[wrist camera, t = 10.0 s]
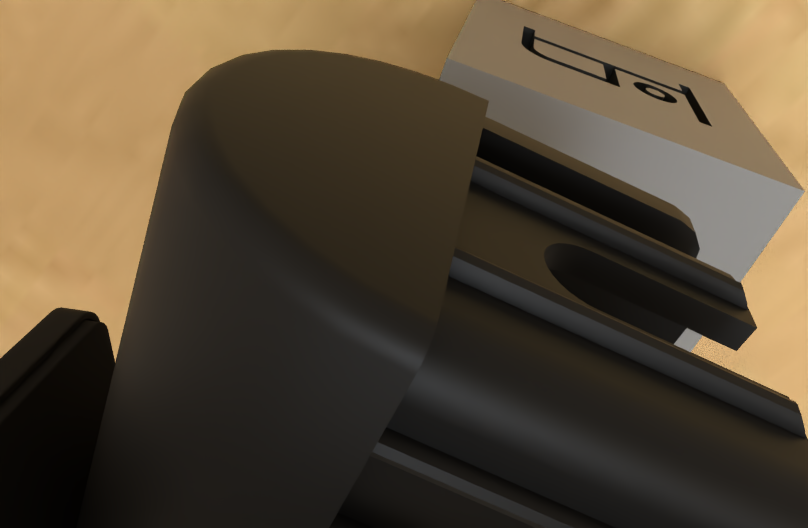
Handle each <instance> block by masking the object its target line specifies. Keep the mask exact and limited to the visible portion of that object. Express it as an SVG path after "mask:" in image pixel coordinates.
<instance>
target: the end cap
mask: <svg viewBox="0 0 808 528" xmlns="http://www.w3.org/2000/svg"><path fill="white" fill-rule="evenodd" d="M488 103H489V101H488V100H486V99H484V98H481V97H479V96H477V95H474V94H472V93H470V92H468V91H465V90H463V89H461V88H458V87H456V86H454V85H451V84H448V83H446V82H443V81H440V80H437V79H435V78H432V77H429V76H427V75H424V74H421V73H418V72H415V71H412V70H408V69H405V68H402V67H398V66H395V65H391V64H388V63H384V62H381V61H376V60H371V59H367V58H362V57H357V56H353V55H348V54H341V53H332V52H324V51H315V50H270V51H264V52H258V53H252V54H246V55H242V56H239V57H237V58H234V59H232V60H229V61H227V62H225V63H222V64H220V65H218V66H215V67H213V68H211V69H210V70H209V71H207V72H206V73H205V74H204V75H203V76H202V77H201V78H200V79H199V80H198V81H197V82H196V83H195V84H194V85H192V86H191V87H190V88H189V89H188V90H187V91H186V92H185V94H184V96H183V99H182V101H181V103H180V106H179V109H178V111H177V114H176V116H175V119H174V122H173V124H172V127H171V131H170V136H169V140H168V144H167V148H166V152H165V157H164V161H163V165H162V169H161V173H160V178H159V182H158V186H157V190H156V194H155V199H154V203H153V207H152V211H151V215H150V220H149V224H148V228H147V232H146V237H145V241H144V245H143V249H142V253H141V258H140V262H139V266H138V270H137V274H136V279H135V283H134V287H133V291H132V295H131V300H130V304H129V308H128V312H127V316H126V321H125V325H124V329H123V333H122V337H121V342H120V346H119V350H118V354H117V358H116V363H115V367H114V371H113V375H112V379H111V384H110V388H109V392H108V396H107V400H106V405H105V409H104V413H103V417H102V421H101V426H100V430H99V434H98V438H97V443H96V447H95V451H94V455H93V459H92V464H91V468H90V472H89V476H88V480H87V485H86V489H85V493H84V497H83V501H82V506H81V510H80V514H79V518H78V522H77V527H76V528H808V439H807V437H806V434H805V428H804V424H803V420H802V416H801V413H800V410H799V407H798V405H797V403H796V402H794V401H792V400H790V399H789V397H787V396H785V395H783V394H781V393H779V392H776V391H774V390H772V389H770V388H768V387H766V386H763V385H761V384H759V383H757V382H755V381H752V380H750V379H748V378H746V377H744V376H742V375H739V374H737V373H735V372H733V371H731V370H728V369H726V368H724V367H722V366H720V365H717V364H715V363H713V362H711V361H709V360H707V359H704V358H702V357H700V356H698V355H696V354H693V353H691V352H689V351H687V350H685V349H683V348H680V347H678V346H676V345H674V343H675V342H676V341H677V340H678V338H679V337H680V336H681V335H682V334H683V332H684V331H685V330H686V329H687V328H688V329H690V330H692V331H694V332H696V333H698V334H701V335H703V336H705V337H707V338H709V339H712V340H714V341H716V342H718V343H720V344H722V345H725V346H727V347H729V348H731V349H733V350H735V351H737V350H738V349H739V348H740V346H741V345H742V344H743V343H744V342H745V341H746V340H747V339H748V338H749V336H750V335H751V334H752V333H753V332H754V331H755V330H756V329H757V326H756V324H755V322H754V320H753V318H752V315H751V313H750V311H749V309H748V307H747V301H746V297H745V294H744V290H743V287H742V284H741V283H740V282H738V281H736V280H735V279H734V278H733V277H732V276H731V275H730V274H728V273H726V272H724V271H722V270H719V269H717V268H715V267H713V266H711V265H709V264H707V263H704V262H702V261H700V260H698V259H696V258H697V256H698V253H699V251H700V247H699V243H698V240H697V236H696V232H695V230H694V227H693V225H692V223H691V220H690V218H689V217H688V216H687V215H686V214H684V213H683V212H682V211H681V210H680V209H678V208H677V207H676V206H675V205H673V204H671V203H669V202H666V201H664V200H662V199H660V198H658V197H656V196H654V195H652V194H649V193H647V192H645V191H643V190H641V189H639V188H637V187H635V186H632V185H630V184H628V183H626V182H624V181H622V180H620V179H618V178H615V177H613V176H611V175H609V174H607V173H605V172H603V171H601V170H598V169H596V168H594V167H592V166H590V165H588V164H586V163H584V162H581V161H579V160H577V159H575V158H573V157H571V156H569V155H567V154H564V153H562V152H560V151H558V150H556V149H554V148H552V147H550V146H547V145H545V144H543V143H541V142H539V141H537V140H535V139H533V138H530V137H528V136H526V135H524V134H522V133H520V132H518V131H516V130H513V129H511V128H509V127H507V126H505V125H503V124H501V123H499V122H496V121H494V120H492V119H490V118H487V117H485V116H486V112H487V107H488Z"/></svg>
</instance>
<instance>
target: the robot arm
mask: <svg viewBox="0 0 808 528" xmlns="http://www.w3.org/2000/svg"><path fill="white" fill-rule="evenodd" d="M114 367H115V360H114V355H113V351H112V346H111V342H110V337H109V333H108V329H107V326H106V325H105V324H104V323H102V322H100V320H99V318H98V316H97V315H96V314H95V313H93V312H88V311H82V310H75V309H68V308H56V309H55V310H53V311H52V312H50V313H49V314H48V315H47V316H46V317H45V318H44V319H43V320H42V321H41V322H40V323H38V324H37V325H36V326H35V327H34V328H33V329H32V330H31V331H30V332H29V333H28V334H27V335H25V336H24V337H23V338H22V339H21V340H20V341H19V342H18V343H17V344H16V345H15V346H13V347H12V348H11V349H10V350H9V351H8V352H7V353H6V354H5V355H4V356H3V357H2V358H0V528H76V527H77V522H78V518H79V514H80V510H81V506H82V501H83V497H84V493H85V489H86V485H87V480H88V476H89V472H90V468H91V464H92V459H93V455H94V451H95V447H96V443H97V438H98V434H99V430H100V426H101V421H102V417H103V413H104V409H105V405H106V400H107V396H108V392H109V388H110V384H111V379H112V375H113V371H114Z"/></svg>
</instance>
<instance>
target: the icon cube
mask: <svg viewBox="0 0 808 528" xmlns="http://www.w3.org/2000/svg"><path fill="white" fill-rule="evenodd" d="M439 80H440V81H443V82H446V83H448V84H451V85H454V86H456V87H458V88H461V89H463V90H465V91H468V92H470V93H472V94H474V95H477V96H479V97H481V98H484V99H486V100H488V101H489V103H488V107H487V112H486V116H485V117H487V118H490V119H492V120H494V121H496V122H499V123H501V124H503V125H505V126H507V127H509V128H511V129H513V130H516V131H518V132H520V133H522V134H524V135H526V136H528V137H530V138H533V139H535V140H537V141H539V142H541V143H543V144H545V145H547V146H550V147H552V148H554V149H556V150H558V151H560V152H562V153H564V154H567V155H569V156H571V157H573V158H575V159H577V160H579V161H581V162H584V163H586V164H588V165H590V166H592V167H594V168H596V169H598V170H601V171H603V172H605V173H607V174H609V175H611V176H613V177H615V178H618V179H620V180H622V181H624V182H626V183H628V184H630V185H632V186H635V187H637V188H639V189H641V190H643V191H645V192H647V193H649V194H652V195H654V196H656V197H658V198H660V199H662V200H664V201H666V202H669V203H671V204H673V205H675V206H676V207H677V208H678V209H680V210H681V211H682V212H683V213H684V214H686V215H687V216H688V217H689V218H690V220H691V223H692V225H693V227H694V230H695V232H696V236H697V240H698V243H699V247H700V251H699V253H698V256H697V258H696V259H698V260H700V261H702V262H704V263H707V264H709V265H711V266H713V267H715V268H717V269H719V270H722V271H724V272H726V273H728V274H730V275H731V276H732V277H733V278H734V279H735V280H736V281H738V282H741V280H742V279H743V278H744V276H745V275H746V273H747V272H748V271H749V269H750V268H751V266H752V265H753V264H754V262H755V261H756V259H757V258H758V257H759V255H760V254H761V252H762V251H763V249H764V248H765V247H766V245H767V244H768V242H769V241H770V240H771V238H772V237H773V235H774V234H775V233H776V231H777V230H778V228H779V227H780V226H781V224H782V223H783V221H784V220H785V218H786V217H787V216H788V214H789V213H790V211H791V210H792V209H793V207H794V206H795V204H796V203H797V202H798V200H799V199H800V197H801V196H802V195H803V193H804V192H805V191H804V189H803V188H802V187H801V185H800V184H799V183H798V181H797V180H796V179H795V177H794V176H793V175H792V173H791V172H790V171H789V169H788V168H787V167H786V165H785V164H784V163H783V161H782V160H781V159H780V157H779V156H778V155H777V153H776V152H775V151H774V149H773V148H772V147H771V145H770V144H769V143H768V141H767V140H766V139H765V137H764V136H763V135H762V133H761V132H760V131H759V129H758V128H757V126H756V125H755V124H754V122H753V121H752V120H751V118H750V117H749V116H748V114H747V113H746V112H745V110H744V109H743V108H742V106H741V105H740V104H739V102H738V101H737V100H736V98H735V97H734V96H733V94H732V93H731V92H730V90H729V89H728V88H727V86H726V85H725V84H724V83H721V82H719V81H716V80H713V79H711V78H708V77H705V76H703V75H700V74H697V73H695V72H692V71H689V70H686V69H684V68H681V67H678V66H676V65H673V64H670V63H668V62H665V61H662V60H660V59H657V58H654V57H652V56H649V55H646V54H644V53H641V52H638V51H636V50H633V49H630V48H628V47H625V46H622V45H619V44H617V43H614V42H611V41H609V40H606V39H603V38H601V37H598V36H595V35H593V34H590V33H587V32H585V31H582V30H579V29H577V28H574V27H571V26H569V25H566V24H563V23H561V22H558V21H555V20H553V19H550V18H547V17H544V16H542V15H539V14H536V13H534V12H531V11H528V10H526V9H523V8H520V7H518V6H515V5H512V4H510V3H507V2H504V1H502V0H476V1H475V3H474V5H473V7H472V9H471V11H470V13H469V15H468V17H467V19H466V21H465V23H464V25H463V27H462V29H461V31H460V33H459V35H458V37H457V39H456V41H455V43H454V45H453V47H452V49H451V51H450V53H449V55H448V57H447V59H446V62H445V65H444V68H443V70H442V73H441V76H440V79H439ZM701 337H702V335H701V334H698V333H696V332H694V331H692V330H690V329H688V328H687V329H686V330H685V331H684V332H683V334H682V335H681V336H680V337H679V338H678V340H677V341H676V342H675V343H674V345H676V346H678V347H680V348H683V349H685V350H687V351H689V352H691V351H692V349H693V348H694V347H695V345H696V344H697V342H698V341H699V340H700V338H701Z"/></svg>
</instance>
